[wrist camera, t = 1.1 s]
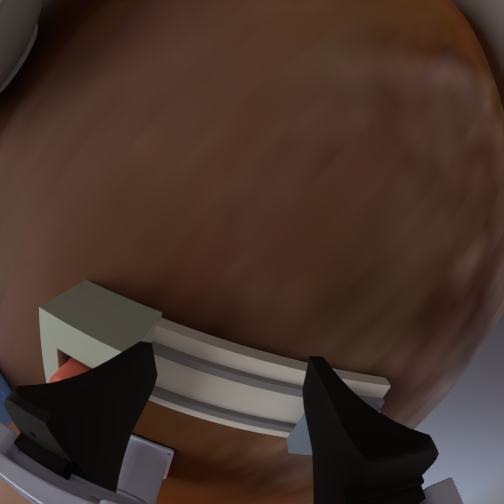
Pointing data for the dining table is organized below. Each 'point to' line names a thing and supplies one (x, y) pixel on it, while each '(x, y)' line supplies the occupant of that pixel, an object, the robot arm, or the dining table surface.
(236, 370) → the track
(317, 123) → the dining table surface
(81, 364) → the plunger
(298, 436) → the carriage
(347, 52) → the dining table surface
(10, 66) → the decorative bowl
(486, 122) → the dining table surface
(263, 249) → the dining table surface
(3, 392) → the water jug
